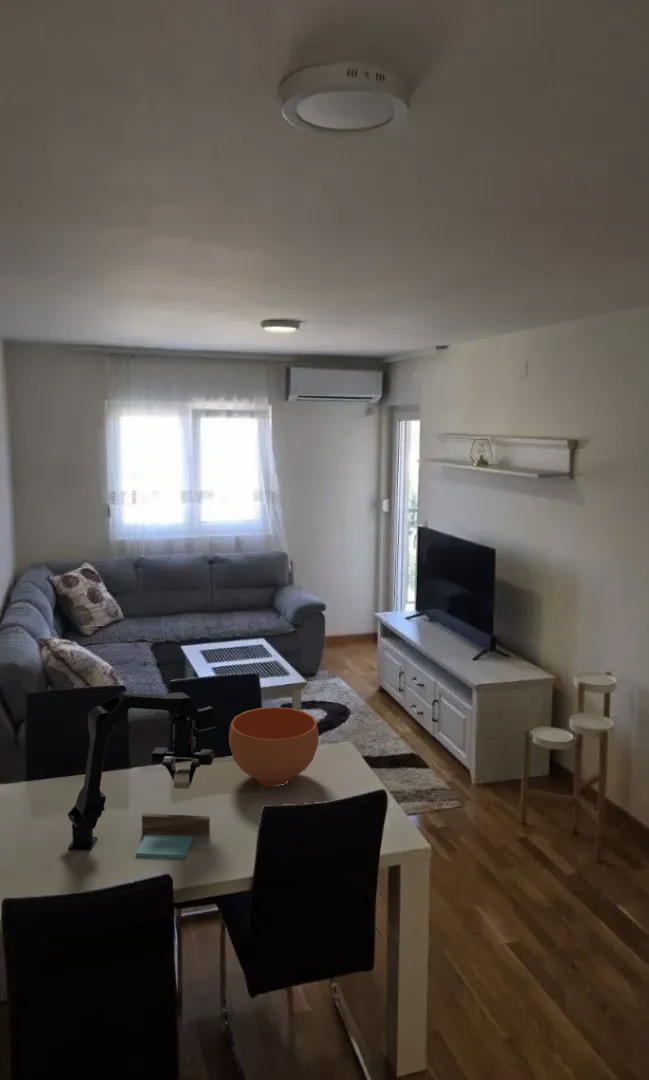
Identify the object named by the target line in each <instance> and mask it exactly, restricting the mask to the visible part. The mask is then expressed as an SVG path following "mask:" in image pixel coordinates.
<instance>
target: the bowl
mask: <svg viewBox="0 0 649 1080" xmlns="http://www.w3.org/2000/svg"><path fill="white" fill-rule="evenodd" d="M319 737H320V734H319V727H318V722H317V720H316V719H315V718H314V716H313V715H311V714H310V713H308V712H305V711H303V710H300V709H295V708H290V707H278V706H272V707H258V708H253V709H250V710H246V711H244V712H243V711H242V712H241V713H240V714H238V715H235V716H234V718H233V719H232V721H231V722H230V725H229V732H228V745H229V748H230V750H231V752H230V753H231V754H232V758H233V760H234V762H235V763H236V764H237V766H238V767H239V769H240V770H241V771H243V772H244V773H245V774H247V775H248V776H250V777H251V778H254V779H255V780H256V781H257V783H258V784H259V785H261V786H263V785H264V787H267V786H277V785H281V784H285V783H286V782H287V781H289V780H290V781H291V779H294V778H295V777H296V776H298V775H300V774H301V773H302V772H305V770H306V769H308V766H309V765H310V764H311V763H312V761H313V760H314V757H315V755H316V751H317V748H318V745H319ZM290 781H289V782H290ZM265 785H266V786H265Z"/></svg>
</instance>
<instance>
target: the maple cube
mask: <svg viewBox="0 0 649 1080" xmlns="http://www.w3.org/2000/svg"><path fill="white" fill-rule="evenodd" d="M189 778H190V768H185V767H184V768H181V767H180V768H179V767H177V768H176V772H175V774H174V781H173V789H177V790H179V789H181V790H189V789H190V787H191V785H192V783H193V782H191V783H190V780H189Z"/></svg>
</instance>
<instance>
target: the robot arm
mask: <svg viewBox="0 0 649 1080" xmlns="http://www.w3.org/2000/svg"><path fill="white" fill-rule="evenodd" d="M195 704H196V703H195V701H194V699H193V698H191V697H190V696H189V695H188V694H186V693H184V692H182V691H178V692H170V693H167V694H162V695H161V694H150V693H136V692H135V693H134V692H128V691H121V692H119V693H118V694H116V695H115V696H113V697H112V698H109V699H107V700H105V701H103V702H102V703H101V704H99V705H98V706H95V707H93V708H92V709H91V710H89V711H88V715H87V728H88V733H89V748H88V753H87V760H86V768H85V776H84V781H83V786H82V788H81V790H80V791H79V792H78V794H77V795H78V796H77V798H76V801H75V805H74V806H73V807H72V808H71V810H70V811H69V812H68V813H67V816H68V819H69V821H71V823H72V824H71V836H72V837H71V838H72V840H71V842H70V844H69V845H68V847H67V848H68V850H76V851H79V850H81V851H91V850H92V848H93V846H94V845H95V844H96V842H97V840H98V837H97V836H94V829H95V828H96V826H97V822H98V820H99V819H100V818H101V816H102V814H103V812H105V811H106V809H105V803H106V800H107V799H106V798H107V796H106V795H105V793H104V792H103V791H102V790H101V781H102V775H103V767H104V761H105V755H106V748H107V742H108V740H109V738H110V737H111V735H112V734H113V730H114V726H115V724H117V723H118V722H119V721H120V720H122V718H123V717H124V715H125V714H126V713H127V711H129V710H130V709H139V710H140V709H141V710H154V711H155V710H156V711H167V712H169V713H171V714H170V715H169V716H168V717H167V718H166V722H167V723H168V724H171V725H172V728H173V729H172V733H173V734H172V735H173V736H172V744H173V749H172V750H173V751H169V750H168V747H162V746H161V747H159V746H157V747H155V748H154V749H153V751H152V752H151V754H150V763H152V764H161V765H162V766H164V767H165V769H166V770H167V771H168V773H169V775H170V777H171V778H172V781H173V782H174V774H175V772H176V770H177V768H176V760H191V761H192V762H191V764H190V765H189V767H190V768H189V769H190V778H189V780H190V783H191V782H192V781H193V779H194V776H195V772H196V769H197V768H200V767H201V766H211V765H212V764H213V762H214V759H215V750H214V749H209V748H208V749H205V748H202V749H201V750H200V752H194V751H195V748H196V742H197V740H196V736H194V735H193V730H195V731H196V732H202V731H207V730H210V729H211V730H212V729H215V728H216V727H217V724H218V720H217V718H216V717H217V716H216V714H215V711H214V708H213V707H212V706H211V705H209V706H206V707H203V708H198V709H197V707H196V705H195ZM192 783H193V782H192ZM192 783H191V784H192Z"/></svg>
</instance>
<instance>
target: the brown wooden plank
mask: <svg viewBox="0 0 649 1080" xmlns="http://www.w3.org/2000/svg"><path fill="white" fill-rule="evenodd" d="M210 817H211V816H209V815H207V816H206V815H188V814H187V815H186V814H185V815H183V814H167V813H166V814H162V813H143V814H142V815H141V826H142V827H141V831H142V832H143V833H157V834H159V833H160V834H161V833H162V834H164V833H165V834H181V835H182V834H185V835H186V834H187V835H206V836H209V835H210V831H211V828H210V826H211V823H210V822H211V821H210V820H211V819H210Z"/></svg>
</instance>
